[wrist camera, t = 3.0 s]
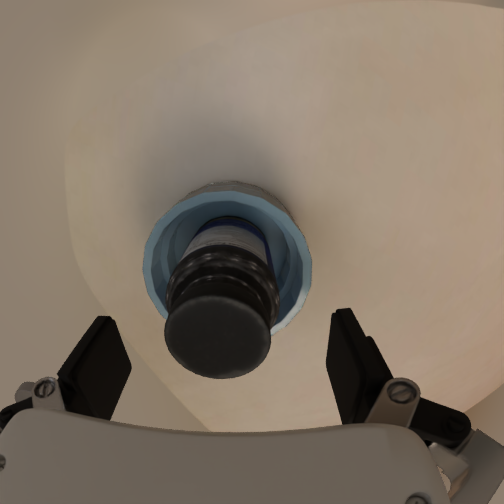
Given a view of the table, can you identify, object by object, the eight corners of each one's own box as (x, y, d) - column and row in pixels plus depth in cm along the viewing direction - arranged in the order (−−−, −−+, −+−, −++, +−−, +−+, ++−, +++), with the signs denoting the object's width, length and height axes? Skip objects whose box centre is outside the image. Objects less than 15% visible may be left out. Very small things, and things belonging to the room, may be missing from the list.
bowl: (175, 310, 24) (161, 346, 20) (154, 188, 20) (129, 200, 16) (297, 305, 24) (308, 340, 20) (297, 177, 20) (312, 186, 16)
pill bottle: (250, 297, 23) (252, 402, 13) (180, 271, 23) (137, 364, 12) (282, 231, 21) (313, 311, 11) (207, 200, 21) (167, 256, 10)
